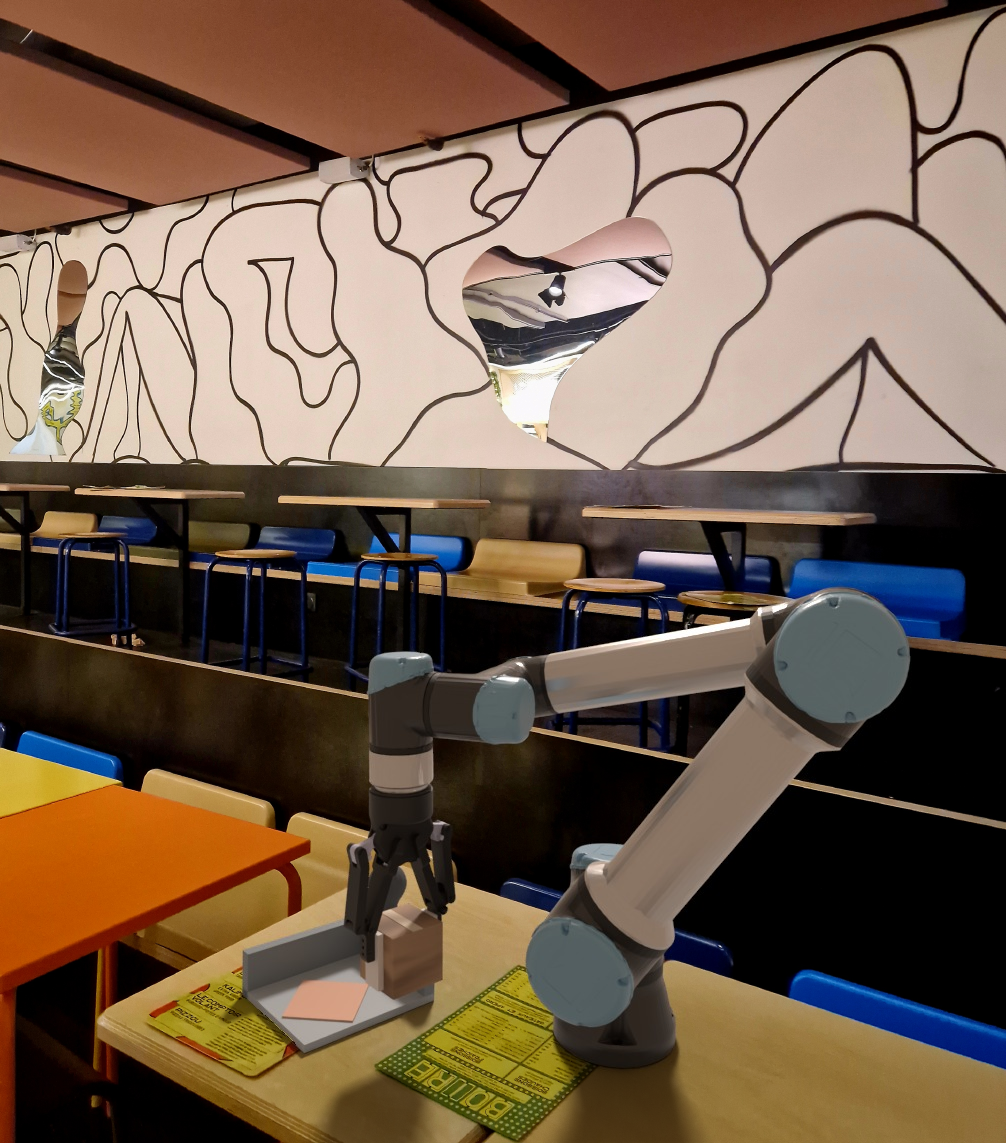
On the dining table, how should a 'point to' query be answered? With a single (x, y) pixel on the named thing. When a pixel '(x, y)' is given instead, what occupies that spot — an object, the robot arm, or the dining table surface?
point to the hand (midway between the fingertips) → (402, 974)
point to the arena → (318, 986)
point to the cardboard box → (409, 950)
